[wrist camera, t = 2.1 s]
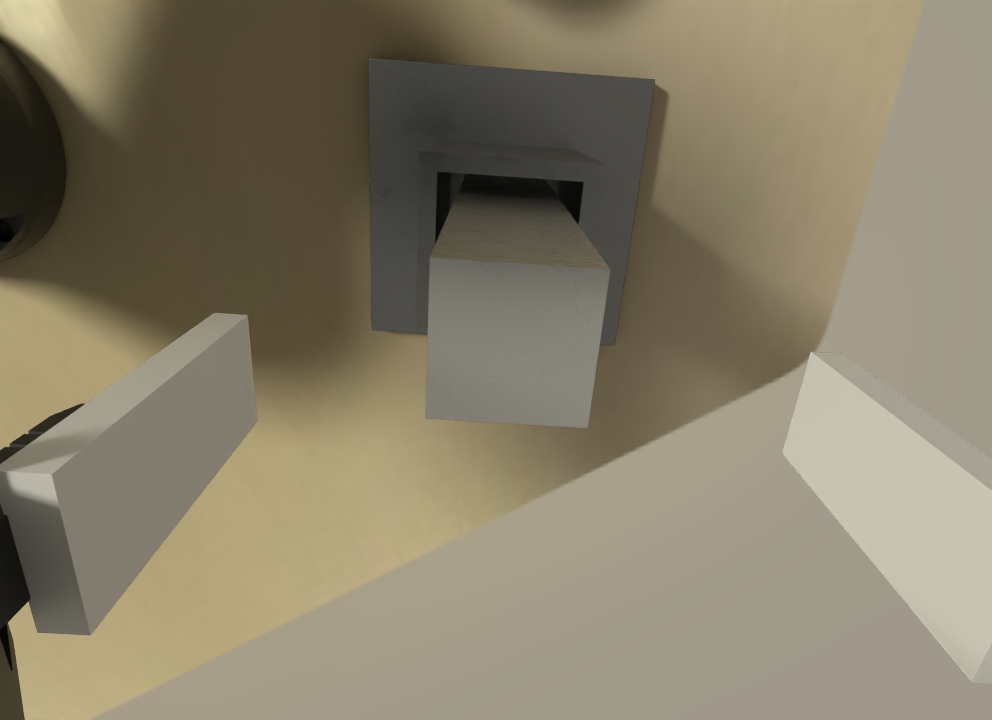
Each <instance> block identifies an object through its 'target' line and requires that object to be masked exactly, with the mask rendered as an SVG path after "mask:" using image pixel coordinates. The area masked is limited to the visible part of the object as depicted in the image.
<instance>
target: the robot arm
mask: <svg viewBox="0 0 992 720" xmlns="http://www.w3.org/2000/svg"><path fill="white" fill-rule="evenodd" d="M64 187H65V158H64V151H63V146H62V141H61V137H60V134H59V130H58V127H57V124H56V122H55V119H54V116H53V114H52V112H51V110H50V107H49V105H48V103H47V101H46V99H45V97H44V96H43V94H42V92H41V91H40V89H39V87H38V86H37V84H36V83H35V81H34V80H33V78H32V77H31V75H30V74H29V73H28V71H27V70H26V69H25V67H24V66H23V65H22V64H21V63H20V61H19V60H18V59H17V58H16V57H15V56H14V55H13V54H12V53H11V52H10V50H9V49H8V48H7V47H6V46H4V45H3V44H2V43H1V42H0V261H2V260H5V259H8V258H11V257H13V256H16V255H18V254H20V253H22V252H24V251H25V250H27V249H28V248H30V247H31V246H33V245H34V244H35V243H36V242H37V241H39V240H40V239H41V238H42V237H43V235H44V234H45V233H46V232H47V231H48V229H49V228H50V226H51V225H52V223H53V221H54V220H55V218H56V215H57V213H58V211H59V208H60V205H61V202H62V198H63V194H64ZM256 422H257V411H256V400H255V389H254V378H253V367H252V356H251V345H250V334H249V323H248V315H240V314H225V313H213V314H212V315H210V316H209V317H208V318H206V319H205V320H203V321H202V322H201V323H199V324H198V325H196V326H195V327H193V328H192V329H191V330H189V331H188V332H186V333H185V334H184V335H182V336H181V337H179V338H178V339H177V340H175V341H174V342H172V343H171V344H169V345H168V346H167V347H165V348H164V349H162V350H161V351H160V352H158V353H157V354H155V355H154V356H153V357H151V358H150V359H148V360H147V361H145V362H144V363H143V364H141V365H140V366H138V367H137V368H136V369H134V370H133V371H131V372H130V373H128V374H127V375H126V376H124V377H123V378H121V379H120V380H119V381H117V382H116V383H114V384H113V385H112V386H110V387H109V388H107V389H106V390H104V391H103V392H102V393H100V394H99V395H97V396H96V397H95V398H93V399H92V400H90V401H89V402H88V403H86V404H79V405H77V406H74V407H72V408H69V409H67V410H64V411H62V412H59V413H57V414H54V415H52V416H50V417H49V418H47V419H46V420H44V421H43V422H41V423H40V424H38V425H37V426H35V427H34V428H32V429H31V430H29V433H28V434H24V435H22V436H21V437H19V438H18V439H16V440H15V441H13V442H12V443H10V447H4V448H3V449H1V450H0V720H25V719H24V712H23V705H22V698H21V691H20V684H19V677H18V670H17V663H16V656H15V649H14V642H13V638H12V635H11V632H10V628H9V625H8V622H9V621H10V620H11V619H12V617H13V616H14V615H15V614H16V613H17V612H18V611H19V610H20V609H21V608H22V607H23V606H24V605H25V604H26V603H27V602H28V601H29V605H30V608H31V612H32V615H33V619H34V622H35V626H36V629H37V633H56V634H75V635H91V634H92V633H93V632H94V630H95V629H96V628H97V627H98V625H99V624H100V623H101V621H102V620H103V619H104V618H105V616H106V615H107V614H108V612H109V611H110V610H111V609H112V607H113V606H114V605H115V604H116V602H117V601H118V600H119V598H120V597H121V596H122V595H123V593H124V592H125V591H126V589H127V588H128V587H129V586H130V584H131V583H132V582H133V580H134V579H135V578H136V577H137V575H138V574H139V573H140V571H141V570H142V569H143V568H144V566H145V565H146V564H147V562H148V561H149V560H150V559H151V557H152V556H153V555H154V553H155V552H156V551H157V550H158V548H159V547H160V546H161V544H162V543H163V542H164V541H165V539H166V538H167V537H168V535H169V534H170V533H171V532H172V530H173V529H174V528H175V526H176V525H177V524H178V523H179V521H180V520H181V519H182V517H183V516H184V515H185V514H186V512H187V511H188V510H189V508H190V507H191V506H192V505H193V503H194V502H195V501H196V499H197V498H198V497H199V496H200V494H201V493H202V492H203V490H204V489H205V488H206V487H207V485H208V484H209V483H210V481H211V480H212V479H213V478H214V476H215V475H216V474H217V473H218V471H219V470H220V469H221V467H222V466H223V465H224V464H225V462H226V461H227V460H228V458H229V457H230V456H231V455H232V453H233V452H234V451H235V449H236V448H237V447H238V446H239V444H240V443H241V442H242V440H243V439H244V438H245V437H246V435H247V434H248V433H249V431H250V430H251V429H252V428H253V426H254V425H255V424H256ZM782 454H783V455H784V456H785V458H786V459H787V460H788V461H789V462H790V464H791V465H792V466H793V467H794V468H795V470H796V471H797V472H798V473H799V474H800V476H801V477H802V478H803V479H804V481H805V482H806V483H807V484H808V485H809V487H810V488H811V489H812V490H813V491H814V492H815V494H816V495H817V496H818V497H819V499H820V500H821V501H822V502H823V503H824V505H825V506H826V507H827V508H828V509H829V511H830V512H831V513H832V514H833V515H834V517H835V518H836V519H837V520H838V521H839V523H840V524H841V525H842V526H843V527H844V529H845V530H846V531H847V532H848V533H849V535H850V536H851V537H852V538H853V540H854V541H855V542H856V543H857V544H858V546H859V547H860V548H861V549H862V550H863V552H864V553H865V554H866V555H867V556H868V557H869V559H870V560H871V561H872V562H873V564H874V565H875V566H876V567H877V568H878V570H879V571H880V572H881V573H882V574H883V576H884V577H885V578H886V579H887V581H888V582H889V583H890V584H891V585H892V587H893V588H894V589H895V590H896V591H897V592H898V594H899V595H900V596H901V597H902V599H904V601H905V602H906V603H907V605H908V606H909V607H910V608H911V609H912V611H913V612H914V613H915V614H916V615H917V617H918V618H919V619H920V620H921V621H922V623H923V624H924V625H925V626H926V628H927V629H928V630H929V631H930V632H931V633H932V635H933V636H934V637H935V638H936V640H937V641H938V642H939V643H940V644H941V645H942V647H943V648H944V649H945V650H946V652H947V653H948V654H949V655H950V656H951V658H952V659H953V660H954V661H955V662H956V664H957V665H958V666H959V667H960V668H961V670H962V671H963V672H964V673H965V674H966V676H967V677H968V678H969V679H970V681H971V682H976V683H992V458H990V457H989V456H988V455H986V454H985V453H983V452H982V451H980V450H979V449H977V448H976V447H975V446H973V445H972V444H971V443H969V442H968V441H966V440H965V439H963V438H962V437H960V436H959V435H958V434H956V433H955V432H953V431H952V430H950V429H949V428H948V427H946V426H945V425H944V424H942V423H941V422H939V421H938V420H936V419H935V418H934V417H932V416H931V415H929V414H928V413H926V412H925V411H924V410H922V409H921V408H919V407H918V406H916V405H915V404H914V403H912V402H911V401H909V400H908V399H907V398H905V397H904V396H902V395H901V394H899V393H898V392H897V391H895V390H894V389H892V388H891V387H889V386H888V385H887V384H885V383H884V382H882V381H881V380H879V379H878V378H877V377H875V376H874V375H872V374H871V373H869V372H868V371H867V370H865V369H864V368H862V367H861V366H860V365H858V364H856V363H855V362H854V361H852V360H851V359H850V358H848V357H847V356H845V355H844V354H837V353H822V352H811V353H810V356H809V360H808V364H807V367H806V371H805V374H804V378H803V381H802V385H801V388H800V392H799V396H798V399H797V402H796V406H795V409H794V413H793V417H792V420H791V424H790V427H789V431H788V435H787V438H786V442H785V445H784V449H783V452H782Z"/></svg>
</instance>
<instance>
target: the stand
mask: <svg viewBox="0 0 992 720" xmlns="http://www.w3.org/2000/svg"><path fill="white" fill-rule="evenodd" d="M654 83H655V79H641V78H628V77H615V76H601V75H588V74H575V73H562V72H548V71H535V70H522V69H509V68H495V67H482V66H469V65H455V64H442V63H429V62H416V61H402V60H389V59H376V58H369V137H370V230H371V323H372V330H377V331H393V332H409V333H425V334H428V306H429V268H430V256H431V253H432V251H433V249H434V247H435V244H436V242H437V240H438V237H439V235H440V233H441V230H442V228H443V226H444V223H445V221H446V219H447V216H448V214H449V212H450V209H451V207H452V205H453V202H454V200H455V198H456V196H457V193H458V191H459V189H460V186H461V184H462V182H463V179H464V177H465V175H466V174H479V175H494V176H508V177H522V178H536V179H545V180H546V181H547V183H548V184H549V185H550V187H551V188H552V190H553V191H554V192H555V194H556V195H557V196H558V198H559V199H560V201H561V202H562V203H563V205H564V206H565V207H566V209H567V210H568V212H569V213H570V214H571V216H572V217H573V219H574V220H575V221H576V223H577V224H578V225H579V227H580V228H581V230H582V231H583V232H584V234H585V235H586V236H587V238H588V239H589V241H590V242H591V243H592V245H593V246H594V247H595V249H596V250H597V252H598V253H599V254H600V256H601V257H602V258H603V260H604V261H605V263H606V264H607V265H608V267H609V268H610V276H609V283H608V290H607V297H606V304H605V311H604V318H603V325H602V332H601V339H600V344H601V345H615V339H616V333H617V326H618V320H619V313H620V306H621V300H622V293H623V287H624V280H625V274H626V267H627V261H628V254H629V247H630V241H631V234H632V228H633V221H634V215H635V208H636V201H637V195H638V188H639V182H640V175H641V169H642V162H643V155H644V149H645V142H646V136H647V129H648V123H649V116H650V109H651V103H652V96H653V90H654Z"/></svg>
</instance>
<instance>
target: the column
mask: <svg viewBox="0 0 992 720" xmlns="http://www.w3.org/2000/svg"><path fill="white" fill-rule="evenodd" d="M609 276H610V268H609V267H608V265H607V264H606V263H605V261H604V260H603V258H602V257H601V256H600V254H599V253H598V252H597V250H596V249H595V247H594V246H593V245H592V243H591V242H590V241H589V239H588V238H587V236H586V235H585V234H584V232H583V231H582V230H581V228H580V227H579V225H578V224H577V223H576V221H575V220H574V219H573V217H572V216H571V214H570V213H569V212H568V210H567V209H566V207H565V206H564V205H563V203H562V202H561V201H560V199H559V198H558V196H557V195H556V194H555V192H554V191H553V190H552V188H551V187H550V185H549V184H548V183H547V181H546V180H545V179H536V178H522V177H508V176H494V175H479V174H466V175H465V177H464V179H463V182H462V184H461V186H460V189H459V191H458V193H457V196H456V198H455V200H454V202H453V205H452V207H451V209H450V212H449V214H448V216H447V219H446V221H445V223H444V226H443V228H442V230H441V233H440V235H439V237H438V240H437V242H436V244H435V247H434V249H433V251H432V253H431V256H430V268H429V306H428V343H427V381H426V419H441V420H458V421H475V422H492V423H509V424H526V425H543V426H560V427H577V428H588V423H589V416H590V409H591V402H592V395H593V388H594V381H595V374H596V367H597V360H598V353H599V346H600V339H601V332H602V325H603V318H604V311H605V304H606V297H607V290H608V283H609Z"/></svg>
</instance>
